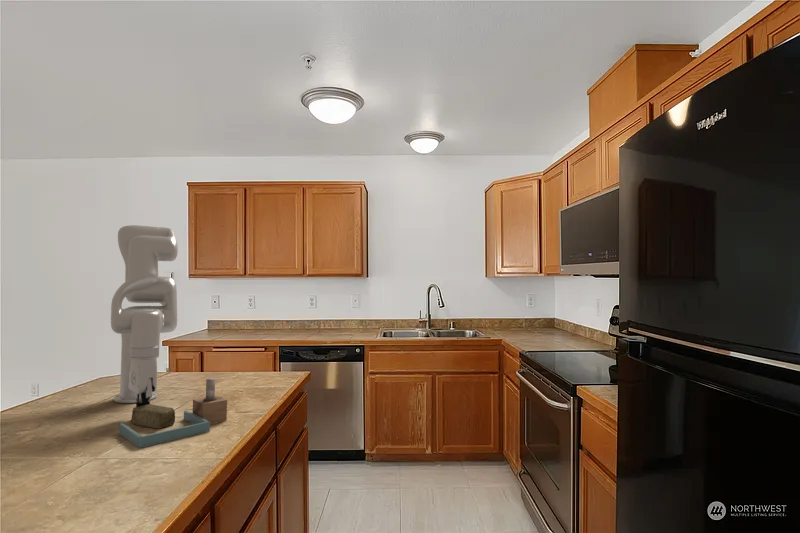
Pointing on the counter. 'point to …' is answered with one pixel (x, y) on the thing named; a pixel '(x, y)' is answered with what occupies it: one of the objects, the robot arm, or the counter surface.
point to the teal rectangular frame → (155, 438)
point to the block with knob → (211, 405)
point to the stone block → (153, 416)
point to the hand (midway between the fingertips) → (142, 414)
